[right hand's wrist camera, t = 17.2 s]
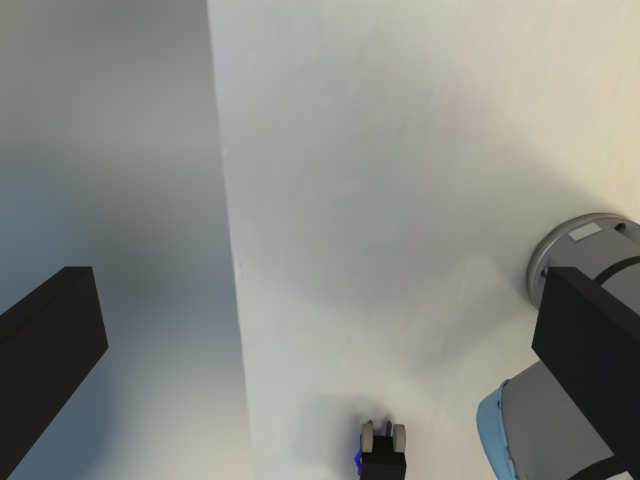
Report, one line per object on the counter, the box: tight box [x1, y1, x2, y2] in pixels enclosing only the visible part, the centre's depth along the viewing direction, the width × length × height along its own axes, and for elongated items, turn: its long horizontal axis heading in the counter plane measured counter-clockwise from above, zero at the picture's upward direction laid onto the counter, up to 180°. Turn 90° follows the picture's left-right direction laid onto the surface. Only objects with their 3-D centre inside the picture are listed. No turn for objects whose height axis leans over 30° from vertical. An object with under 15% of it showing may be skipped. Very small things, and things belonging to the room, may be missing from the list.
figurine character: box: [354, 420, 407, 480], centre depth 62 cm, size 7×8×15 cm
